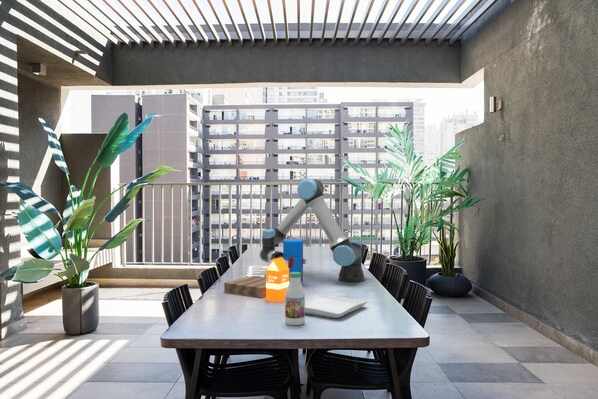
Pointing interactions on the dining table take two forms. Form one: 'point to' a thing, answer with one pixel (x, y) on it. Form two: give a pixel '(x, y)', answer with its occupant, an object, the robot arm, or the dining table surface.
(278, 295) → the orange juice
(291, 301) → the milk bottle
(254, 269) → the holder
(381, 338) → the dining table surface
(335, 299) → the square plate
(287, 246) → the thermos
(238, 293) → the walnut riser
